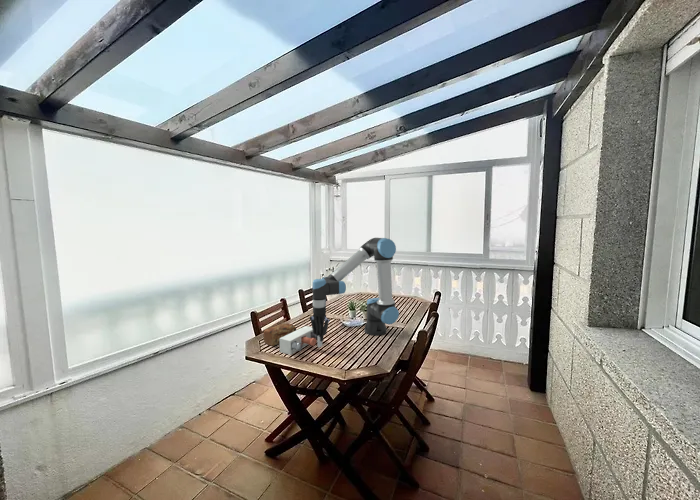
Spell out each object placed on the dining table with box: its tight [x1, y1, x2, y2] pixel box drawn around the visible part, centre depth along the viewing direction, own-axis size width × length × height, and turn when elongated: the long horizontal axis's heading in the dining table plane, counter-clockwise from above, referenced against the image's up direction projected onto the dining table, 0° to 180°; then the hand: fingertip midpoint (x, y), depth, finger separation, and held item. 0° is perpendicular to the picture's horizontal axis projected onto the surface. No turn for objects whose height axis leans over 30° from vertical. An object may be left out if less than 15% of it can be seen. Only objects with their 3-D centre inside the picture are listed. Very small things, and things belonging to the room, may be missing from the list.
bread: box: [262, 322, 297, 347], centre depth 182 cm, size 19×11×10 cm, turn 137°
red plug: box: [301, 337, 317, 347], centre depth 171 cm, size 11×5×5 cm, turn 61°
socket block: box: [279, 325, 313, 356], centre depth 174 cm, size 8×24×8 cm, turn 150°
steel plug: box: [291, 342, 304, 352], centre depth 165 cm, size 11×5×5 cm, turn 61°
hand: (319, 346), depth 166 cm, fingers closed
